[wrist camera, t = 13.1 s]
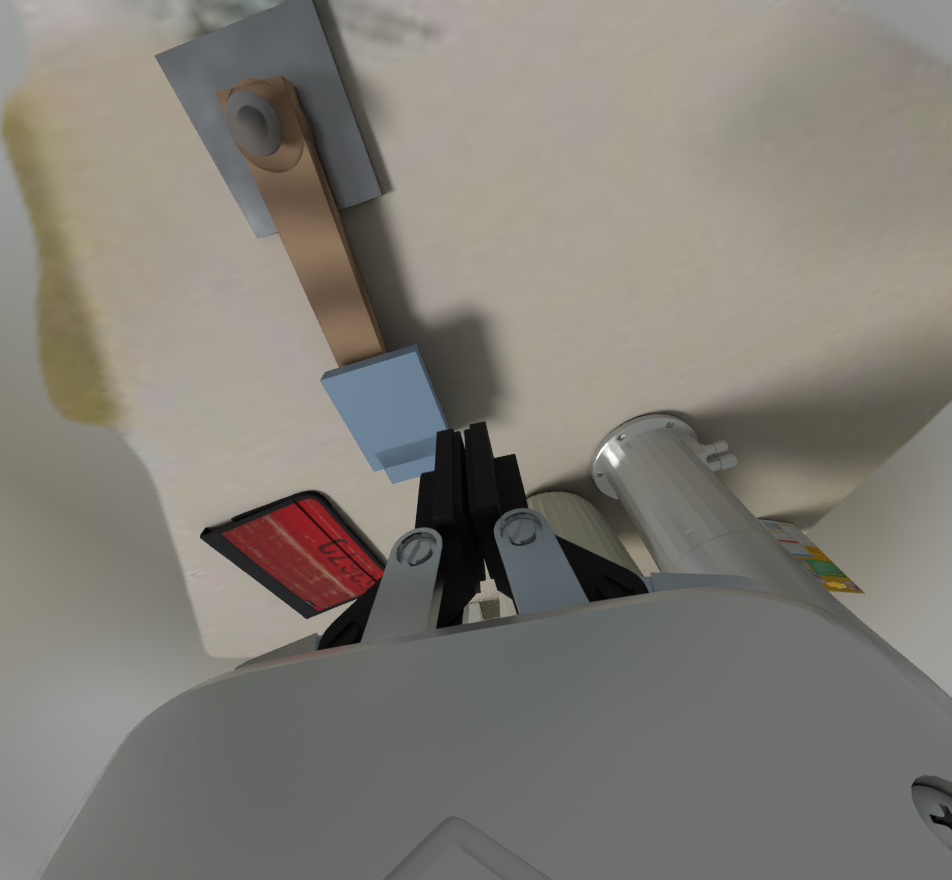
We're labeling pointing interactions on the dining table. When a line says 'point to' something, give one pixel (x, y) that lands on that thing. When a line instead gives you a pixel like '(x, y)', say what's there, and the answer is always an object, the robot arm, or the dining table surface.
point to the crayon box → (810, 557)
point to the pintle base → (265, 56)
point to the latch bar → (303, 211)
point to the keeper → (390, 411)
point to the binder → (299, 553)
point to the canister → (576, 531)
